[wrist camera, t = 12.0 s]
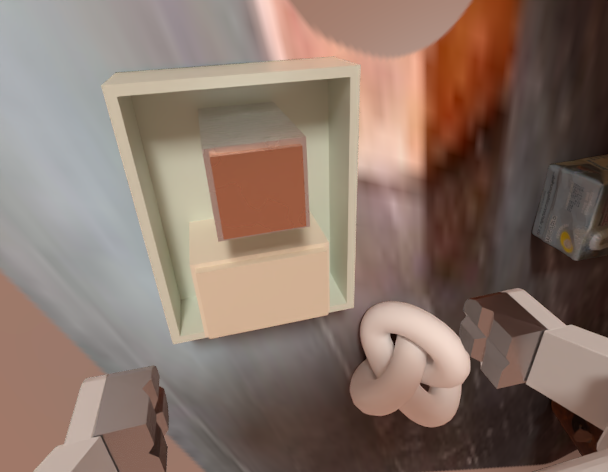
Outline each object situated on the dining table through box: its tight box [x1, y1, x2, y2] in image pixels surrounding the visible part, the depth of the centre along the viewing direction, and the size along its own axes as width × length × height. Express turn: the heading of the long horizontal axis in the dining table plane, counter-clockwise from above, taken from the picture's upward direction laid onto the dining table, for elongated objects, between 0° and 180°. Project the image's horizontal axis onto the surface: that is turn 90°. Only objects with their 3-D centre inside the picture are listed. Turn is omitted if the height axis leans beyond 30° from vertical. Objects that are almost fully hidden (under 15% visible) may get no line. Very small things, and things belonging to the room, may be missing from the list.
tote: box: [101, 57, 361, 344], centre depth 28 cm, size 14×18×5 cm
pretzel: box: [350, 301, 470, 427], centre depth 38 cm, size 11×12×9 cm
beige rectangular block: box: [189, 210, 330, 339], centre depth 29 cm, size 9×6×7 cm, turn 93°
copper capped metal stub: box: [198, 101, 310, 242], centre depth 24 cm, size 5×5×9 cm
